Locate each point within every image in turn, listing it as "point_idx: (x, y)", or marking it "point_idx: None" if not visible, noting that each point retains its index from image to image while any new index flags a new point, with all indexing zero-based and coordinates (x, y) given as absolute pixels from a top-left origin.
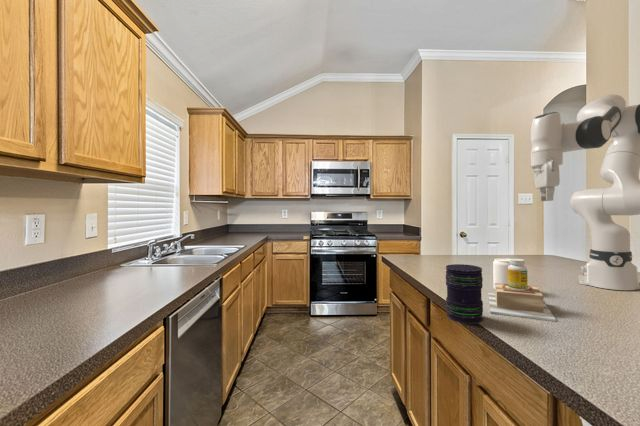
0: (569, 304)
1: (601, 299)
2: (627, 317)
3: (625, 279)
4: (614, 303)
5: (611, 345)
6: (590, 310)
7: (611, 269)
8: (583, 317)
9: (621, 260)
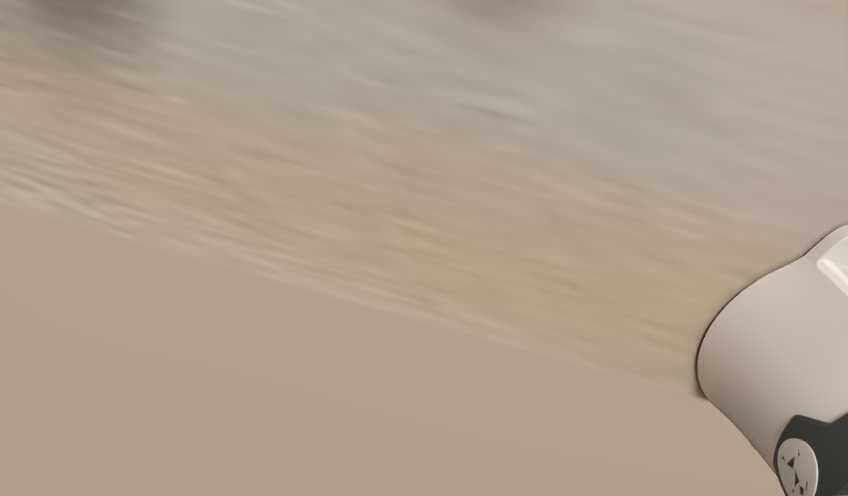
0: (299, 31)
1: (485, 223)
2: (161, 226)
3: (735, 415)
4: (418, 253)
5: None
6: (211, 106)
7: (779, 409)
8: (33, 29)
9: (789, 491)
